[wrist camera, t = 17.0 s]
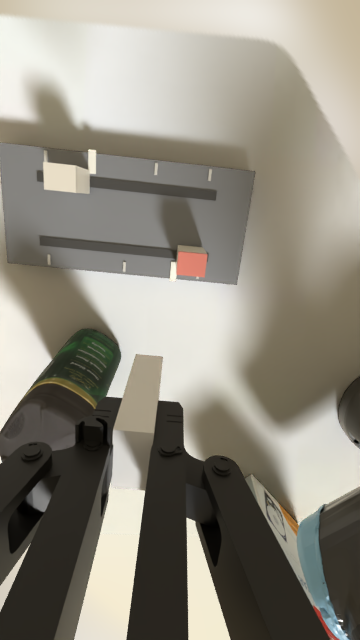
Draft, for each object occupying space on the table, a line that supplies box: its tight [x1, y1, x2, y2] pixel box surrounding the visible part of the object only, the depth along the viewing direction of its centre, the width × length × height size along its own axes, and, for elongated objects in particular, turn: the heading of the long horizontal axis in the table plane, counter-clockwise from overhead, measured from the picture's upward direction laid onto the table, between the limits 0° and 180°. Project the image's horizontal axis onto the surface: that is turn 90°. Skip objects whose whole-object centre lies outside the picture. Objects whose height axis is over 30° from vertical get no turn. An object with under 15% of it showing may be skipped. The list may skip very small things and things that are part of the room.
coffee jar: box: [0, 329, 121, 462], centre depth 39 cm, size 10×8×19 cm
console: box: [0, 143, 255, 285], centre depth 40 cm, size 28×14×3 cm, turn 84°
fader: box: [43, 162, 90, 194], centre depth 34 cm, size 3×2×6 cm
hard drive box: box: [245, 474, 340, 640], centre depth 49 cm, size 16×8×20 cm, turn 38°
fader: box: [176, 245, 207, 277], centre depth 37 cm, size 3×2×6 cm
